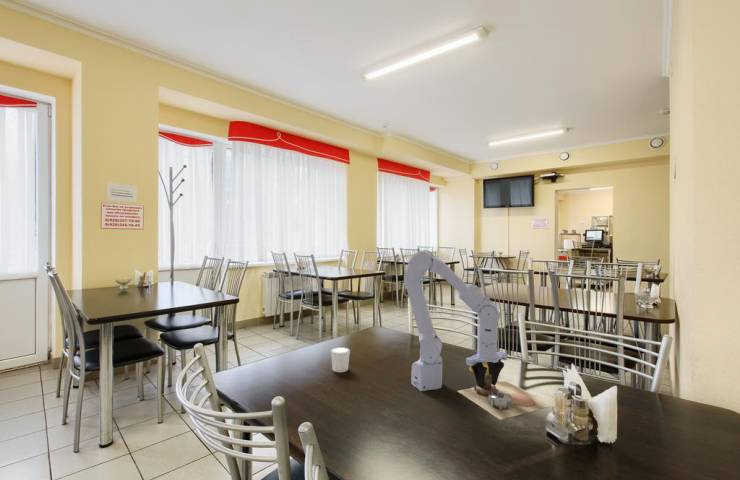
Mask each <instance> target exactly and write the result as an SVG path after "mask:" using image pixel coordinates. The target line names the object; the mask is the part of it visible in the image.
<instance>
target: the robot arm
mask: <svg viewBox="0 0 740 480" xmlns="http://www.w3.org/2000/svg"><path fill="white" fill-rule="evenodd" d="M428 270H429V273H431V274H436V275H440V276H441V277H442V278H443V279H444V280H446V282H448V283H449V284H450V285H451V286H452V287H453V288H454V289H455V290H456V291H458V298H459V299H461V301H463V303H464V304H466V305H467V306H468V307H469V308H470V309H471V310H472V311H473V312H475V313H477V317H478V326H477V353H475V354H474V355H472V356H469V357H466V358H465V365H467V366H469V367H470V366H471V368H472V370H473V372H472V373H473V374H474V378H475V382H476V386H479V387H480V388H483V387H484V378H485V373H486V370H487V368H486V367H484V366H483V365H482V364H483V363H486V364H487V365H488V370H489V374H491V375H492V385H494V386H495V385H496V383H497V381H498V379H499V376H500V373H501V371H502V370H503V369H504V367H505V362H503V361H507V360H508V353H507V352H504V351H499V352H498V337H499V336H498V334H499V333H498V320H499V319H500V314H499V310H498V307H497V306H496V304H495V302H494V301H493V300H491V298H489V297H486V296H485V295H484V294H483V293H482V292H481V291H480V290H479V289H480V288H479V287H478V285H474V284H472V283H465V282H464V280H462V279H461V278H460V276H458V275H457V274H456V273H455V271H453V270H452V269H451V267H449V266H448V265H447V264H446V263H445V262H444V261H443V260H442V259H440V258H439V257H438V256H436V255H434V254H433V252H432V251H430V250H428V249H423V250H420V251H416V252H415V253H414V254H413V255H412V256H411V258H410V259H409V260H408V264H407V268H406V272H405V274H404V277H403V279H404V280H403V281H404V284H405V288H406V291H407V295H408V298H409V301H410V305H411V306H410V307H411V309H412V312H413V317H414V319H415V320H414V321H415V323H416V327H417V330H418V340H419V346H420V348H419V358H418V360H417V361H414V362H412V364H411V373H410V383H411V385H412V386H413V387H414V388H416V389H417V390H418V391H420V392H424V391H431V390H439V389H441V388H442V387H443V357H442V356H441V351H442V349H443V342H442V340H441V339H440V338H439V336H438V335H437V332H436V330H435V328H434V325H433V322H432V318H431V315H430V312H429V308H428V304H427V300H426V297H425V293H424V289H423V286H422V283H421V281H422V279H423V277H424V275H425V274H426V272H427V271H428ZM502 360H503V361H502Z"/></svg>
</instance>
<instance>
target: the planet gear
mask: <svg viewBox="0 0 740 480" xmlns="http://www.w3.org/2000/svg"><path fill="white" fill-rule="evenodd" d="M474 390H475V391H476V392H477V394H480V395H483V396H484V397H487V396H489V394H491V393H492V391H494V392H498V389H496V386H492V375H491V374H488V373H485V378H484V387H483V388H480V387H479V386H477V385H474Z"/></svg>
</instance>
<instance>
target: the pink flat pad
mask: <svg viewBox="0 0 740 480" xmlns="http://www.w3.org/2000/svg"><path fill="white" fill-rule="evenodd" d="M510 395H511V398H513V404H515V405H518V406H523V407H529V406H533V405H534V400H533V399H532V398H531V397H529V396H526V395H523V394H518V393H511V394H510Z"/></svg>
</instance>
